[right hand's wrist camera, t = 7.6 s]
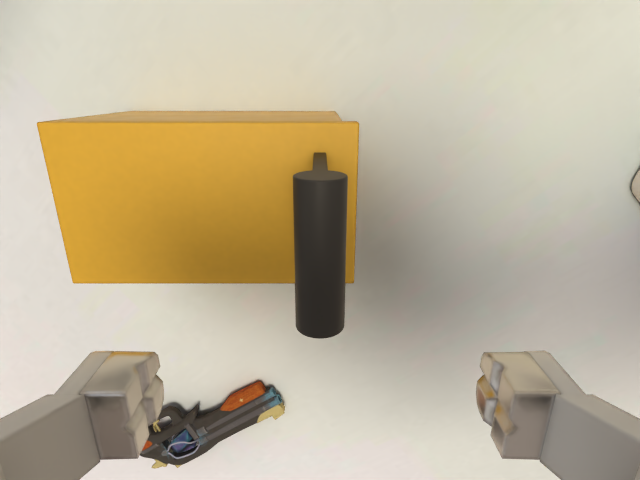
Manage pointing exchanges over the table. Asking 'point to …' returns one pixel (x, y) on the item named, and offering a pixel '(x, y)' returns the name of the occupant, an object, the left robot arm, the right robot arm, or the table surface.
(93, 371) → the right robot arm
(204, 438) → the toy gun
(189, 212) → the lid
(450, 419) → the table surface
